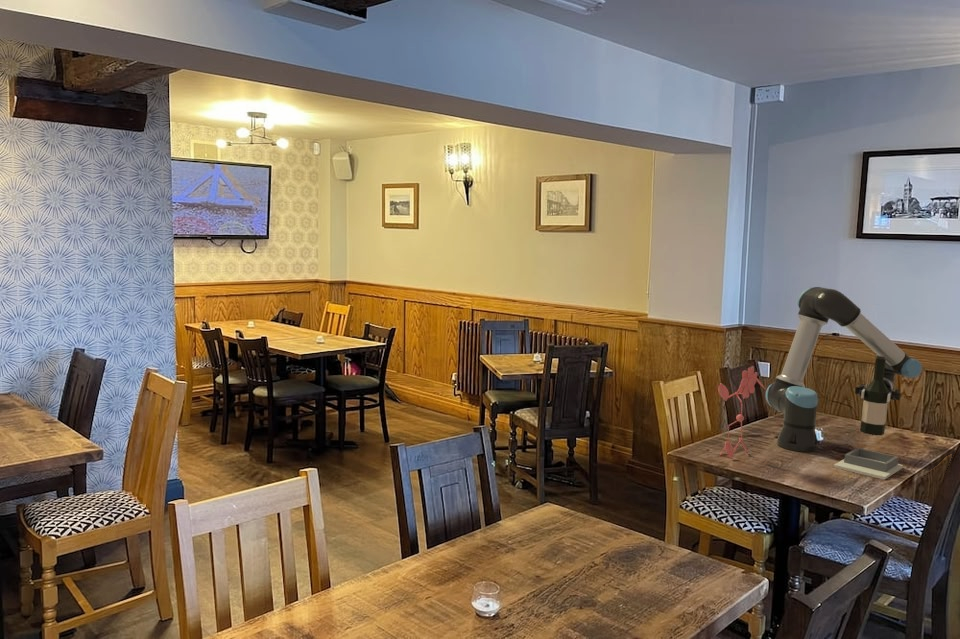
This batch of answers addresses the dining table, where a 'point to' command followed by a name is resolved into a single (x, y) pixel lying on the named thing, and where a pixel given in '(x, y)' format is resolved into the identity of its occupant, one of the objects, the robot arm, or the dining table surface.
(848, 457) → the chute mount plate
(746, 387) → the pink wire flower sculpture
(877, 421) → the wine bottle
